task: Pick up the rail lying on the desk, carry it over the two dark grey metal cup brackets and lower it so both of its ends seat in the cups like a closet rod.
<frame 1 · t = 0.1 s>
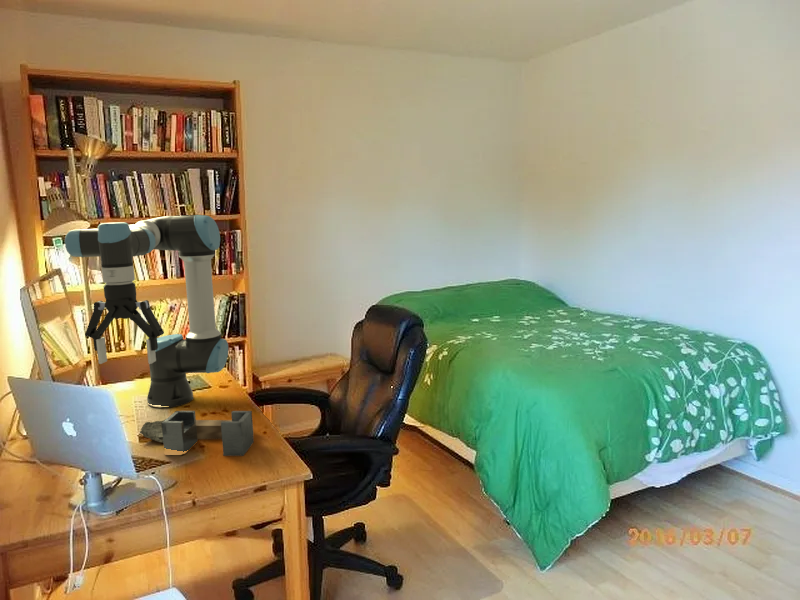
hand: (127, 362, 160), 28 cm above the table, tool pointing down, fingers open, 13 cm apart
rail: (221, 437, 182), on the table
rock sample: (164, 439, 181), on the table
bracket 2: (239, 448, 172), on the table
bracket 1: (181, 448, 173), on the table
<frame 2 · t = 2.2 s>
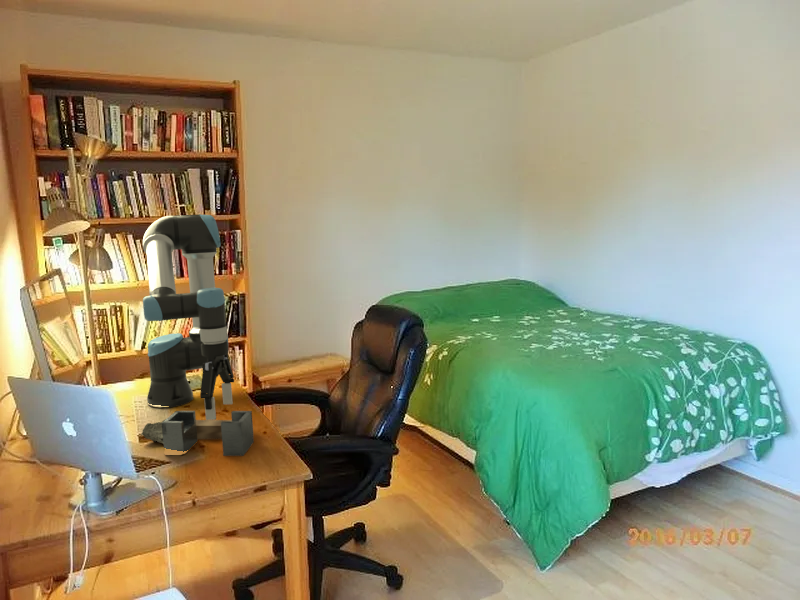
hand: (219, 411, 180), 8 cm above the table, tool pointing down, fingers open, 13 cm apart
rock sample: (165, 441, 180), on the table
everything else where it was.
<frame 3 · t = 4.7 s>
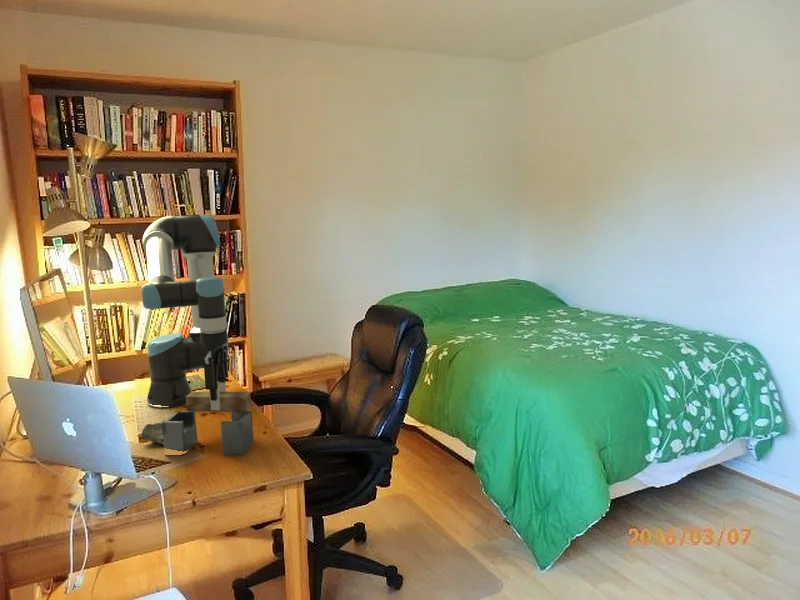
hand: (219, 406, 181), 9 cm above the table, tool pointing down, fingers closed on rail, 4 cm apart
rail: (219, 408, 181), point 8 cm above the table, touching gripper
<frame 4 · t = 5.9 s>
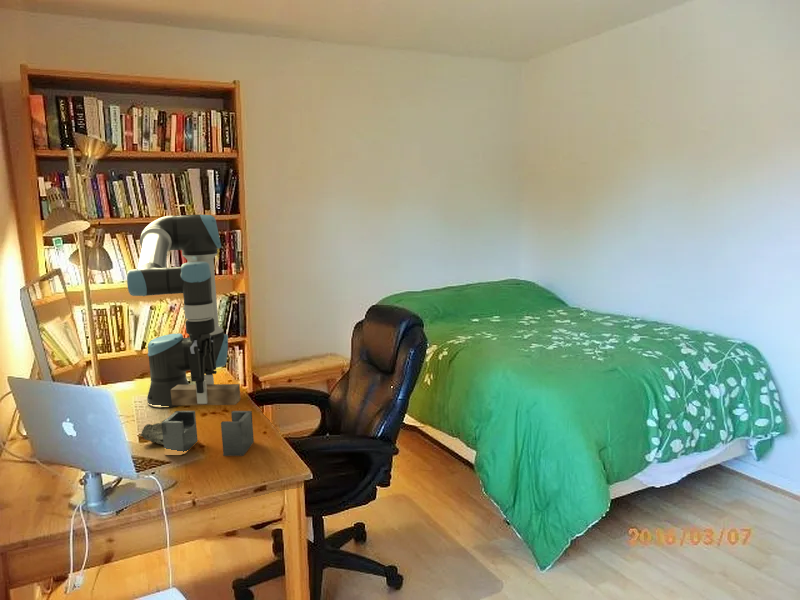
hand: (206, 399, 170), 14 cm above the table, tool pointing down, fingers closed on rail, 4 cm apart
rail: (206, 402, 170), point 14 cm above the table, touching gripper
everything else where it was.
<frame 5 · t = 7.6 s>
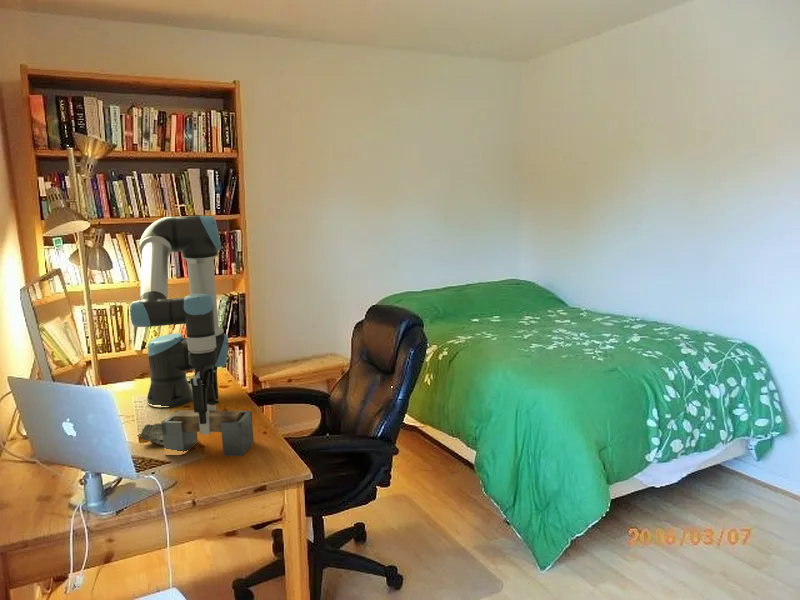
hand: (208, 430, 172), 6 cm above the table, tool pointing down, fingers closed on rail, 4 cm apart
rail: (208, 428, 172), point 6 cm above the table, touching bracket 2, bracket 1, gripper
when the fingers open (6 cm above the table, at t = 7.7 s): rail stays where it is, resting on bracket 2, bracket 1.
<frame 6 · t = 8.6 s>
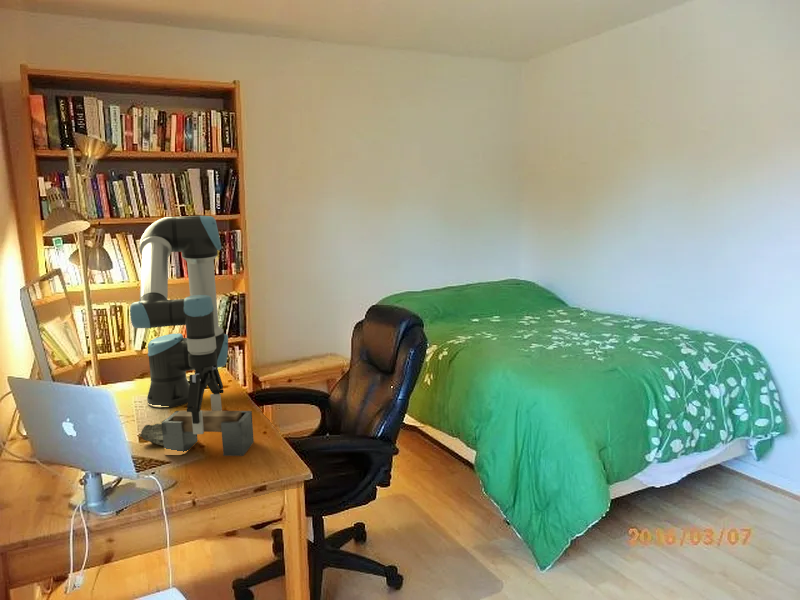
hand: (208, 424, 171), 7 cm above the table, tool pointing down, fingers open, 13 cm apart
rail: (208, 428, 172), point 6 cm above the table, touching bracket 2, bracket 1
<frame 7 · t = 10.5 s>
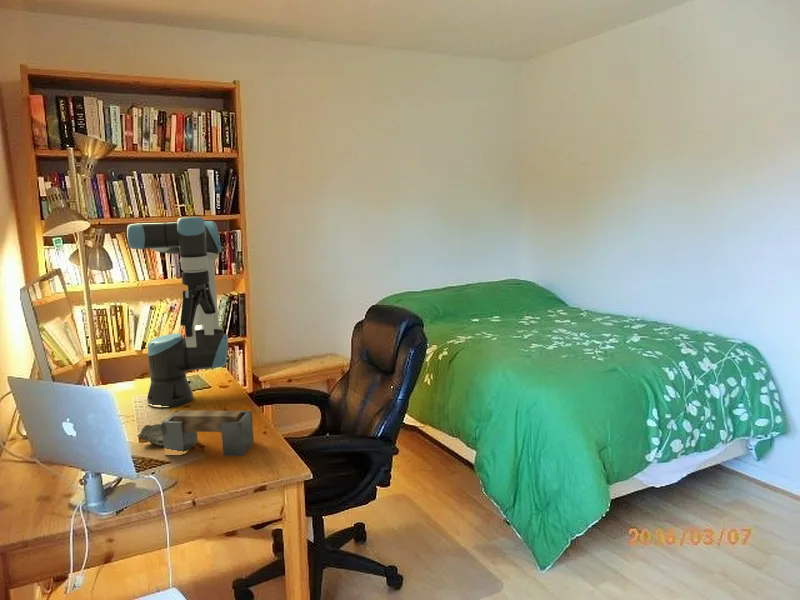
hand: (200, 340, 182), 28 cm above the table, tool pointing down, fingers open, 13 cm apart
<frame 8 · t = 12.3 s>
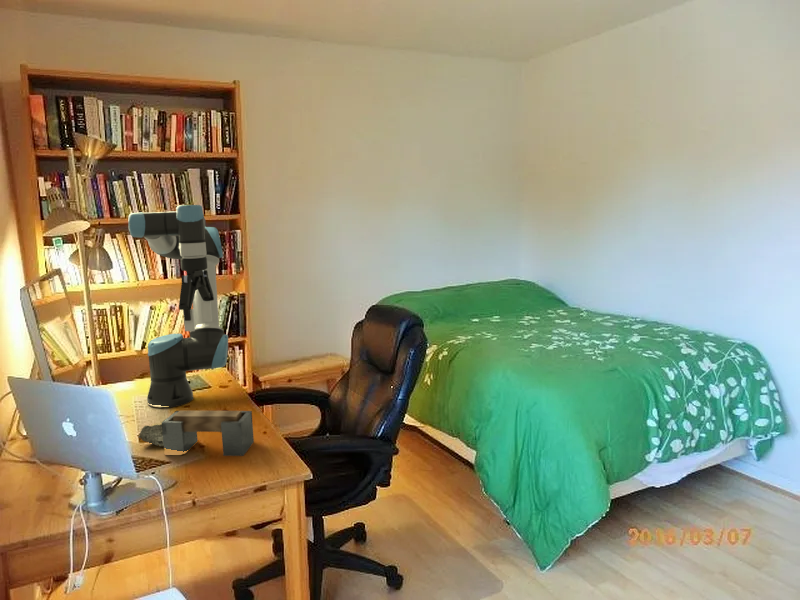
hand: (199, 326, 186), 32 cm above the table, tool pointing down, fingers open, 13 cm apart
at the end: rail inside the target area (0.1 cm from its centre), point 6.0 cm above the table; rail tilted 0°; the gripper is holding nothing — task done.
